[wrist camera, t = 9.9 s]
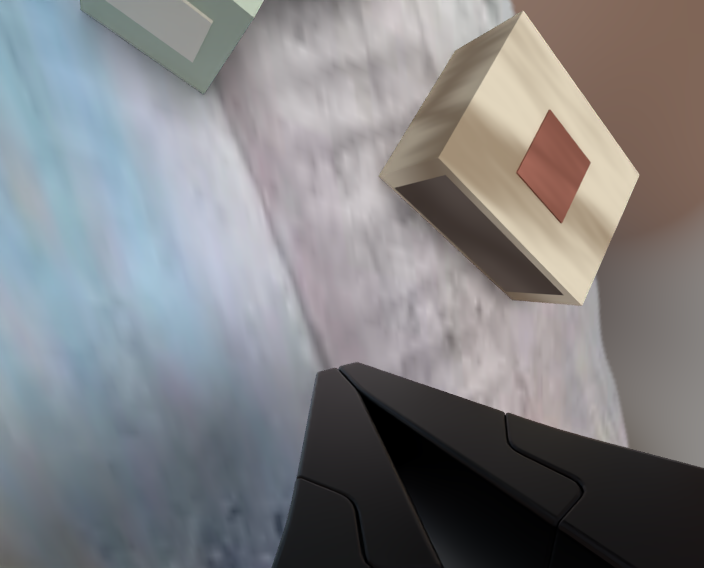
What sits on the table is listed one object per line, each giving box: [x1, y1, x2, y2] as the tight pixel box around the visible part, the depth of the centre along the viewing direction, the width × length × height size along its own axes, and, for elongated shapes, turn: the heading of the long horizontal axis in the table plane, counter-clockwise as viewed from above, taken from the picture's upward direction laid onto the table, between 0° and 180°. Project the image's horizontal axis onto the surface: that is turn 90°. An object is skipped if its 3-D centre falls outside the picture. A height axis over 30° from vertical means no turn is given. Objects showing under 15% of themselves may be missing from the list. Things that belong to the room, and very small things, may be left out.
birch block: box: [379, 11, 639, 306], centre depth 25 cm, size 5×12×9 cm
